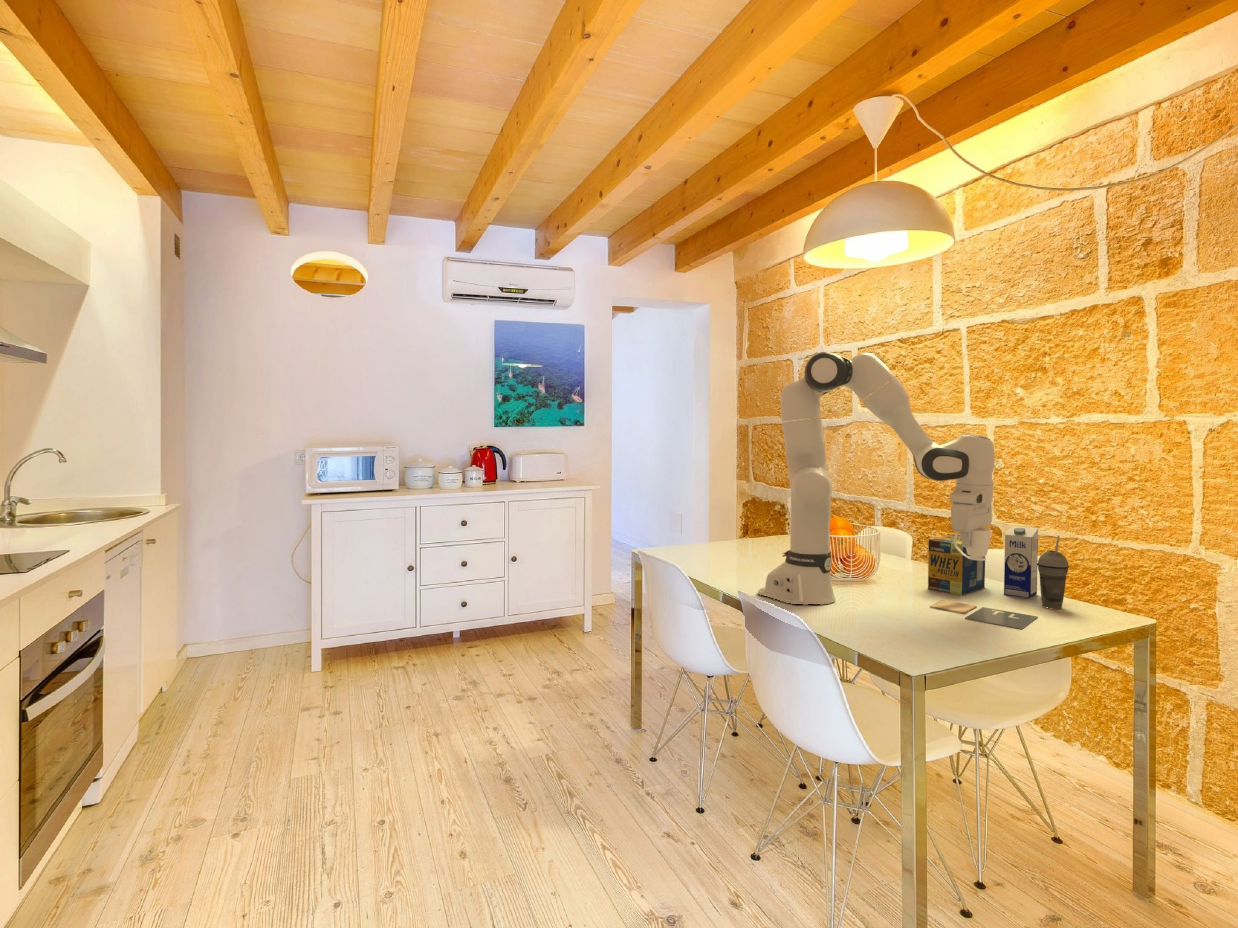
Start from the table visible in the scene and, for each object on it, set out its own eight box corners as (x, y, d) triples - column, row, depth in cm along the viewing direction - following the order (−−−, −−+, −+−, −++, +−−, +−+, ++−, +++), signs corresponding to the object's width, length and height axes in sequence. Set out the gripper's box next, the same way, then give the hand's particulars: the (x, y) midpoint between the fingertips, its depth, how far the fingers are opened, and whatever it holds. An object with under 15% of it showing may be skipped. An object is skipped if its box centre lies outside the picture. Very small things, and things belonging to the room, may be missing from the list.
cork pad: (929, 607, 178) (929, 605, 178) (942, 601, 184) (942, 599, 184) (964, 614, 172) (964, 612, 172) (976, 607, 178) (976, 605, 178)
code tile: (964, 618, 168) (964, 617, 168) (983, 608, 177) (983, 606, 177) (1021, 629, 158) (1021, 628, 158) (1037, 617, 168) (1037, 616, 168)
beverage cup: (1042, 601, 182) (1044, 531, 181) (1072, 607, 177) (1074, 535, 175) (1031, 606, 178) (1033, 534, 177) (1061, 612, 172) (1063, 538, 171)
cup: (981, 562, 168) (983, 531, 168) (945, 555, 177) (947, 526, 177) (997, 560, 172) (998, 530, 171) (961, 553, 180) (962, 525, 180)
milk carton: (1037, 594, 190) (1038, 527, 189) (1030, 598, 186) (1031, 530, 185) (1010, 590, 196) (1011, 525, 195) (1003, 594, 191) (1004, 527, 190)
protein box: (927, 589, 199) (927, 539, 198) (951, 581, 208) (952, 534, 207) (961, 596, 190) (962, 544, 189) (985, 587, 199) (986, 538, 199)
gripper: (974, 491, 182) (972, 539, 183) (947, 495, 169) (944, 548, 169) (999, 493, 178) (996, 542, 179) (973, 498, 164) (970, 551, 165)
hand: (971, 545), depth 174 cm, fingers closed on cup, 6 cm apart
